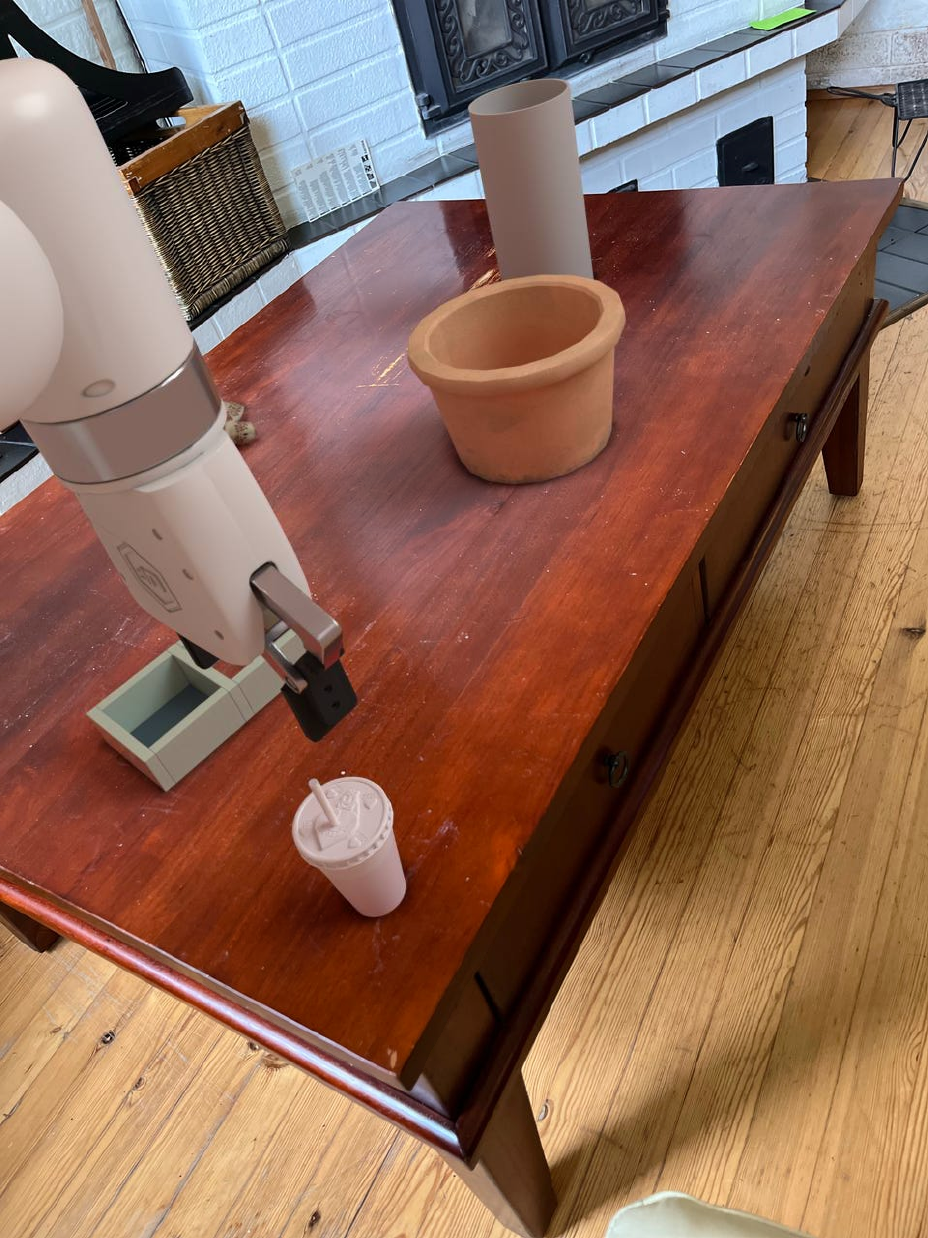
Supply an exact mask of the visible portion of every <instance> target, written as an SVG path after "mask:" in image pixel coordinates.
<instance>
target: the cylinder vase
mask: <svg viewBox="0 0 928 1238" xmlns="http://www.w3.org/2000/svg"><path fill="white" fill-rule="evenodd" d="M467 111H468V116H469V121H470V126H471V132H472V137H473V141H474V148H475V152H476V158H477V163H478V168H479V173H480V179H481V184H482V189H483V194H484V199H485V204H486V209H487V215H488V220H489V225H490V231H491V236H492V240H493V241H492V242H493V246H494V251H495V258H496V261H497V268H498V272H499V273H498V274H499V277H500V278H499V279H500V281H504V280H508V279H515V278H522V277H528V276H535V275H575V276H580V277H584V278H588V279H593V280H594V271H593V265H592V264H593V263H592V255H591V247H590V240H589V230H588V223H587V222H588V221H587V215H586V214H587V213H586V206H585V198H584V197H585V196H584V190H583V189H584V188H583V181H582V175H581V174H582V173H581V165H580V156H579V149H578V142H577V141H578V139H577V132H576V124H575V123H576V122H575V117H574V108H573V99H572V92H571V84H570V82H569V81H567V80H565V79H562V78H540V79H539V78H538V79H532V80H526V81H521V82H517V83H513V84H509V85H506V86H502V87H500V88H497V89H493V90H490V91H489V92H487V93H485V94H482V95H480V96H479V97H477V98H476V99H474V100H473V101H472V102H471V103H469V105H468V107H467Z"/></svg>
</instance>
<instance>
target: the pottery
mask: <svg viewBox="0 0 928 1238" xmlns="http://www.w3.org/2000/svg"><path fill="white" fill-rule="evenodd" d="M621 300H622V299H621V297H620V294H619V293H618V292H617V291H616V290H614V289H613V288H611V287H609V286H608V285H607V284H605V283H603V282H602V281H601V280H597V279H594V278H593V279H588V278H584V277H580V276H575V275H535V276H528V277H522V278H515V279H508V280H504V281H501V280H500V281H498V282H493V283H490V284H487V285H484V286H481V287H478V288H474V289H471V290H469V291H466V292H465V293H463V294H461V295H459V296H457V297H454V298H453V299H449V300H448V301H446V302H444V303H442V304H440V306H438V307H437V308H436V309H434V310H433V311H432V312H430V313H429V314H428V315H426V316H425V317H424V318H422V319H420V321H419V322H418V324H417V326H416V327H415V328H414V330H413V331H412V333H410V335H409V337H408V339H407V357H406V359H407V362H408V365H409V369H410V370H411V371H412V372H413V374H414V375H415V376H416V378H418V380H419V381H420V382H421V383H422V384H423V385H424V386H426V387H428V388H429V390H430V392H431V395H432V397H433V400H434V402H435V404H436V406H437V409H438V411H439V413H440V415H441V418H442V420H443V423H444V425H445V427H446V430H447V432H448V434H449V436H450V438H451V441H452V444H453V445H454V448H455V450H456V453H457V455H458V457H459V459H460V462H461V463H462V464H463V465H464V466H465V468H466V469H467V470H468V471H469V473H470V474H473V475H475V476H478V477H479V478H481V479H484V480H485V481H488V482H492V483H501V484H508V485H521V484H531V483H542V482H546V481H548V480H552V479H554V478H558V477H562V476H565V475H569V474H571V473H572V472H574V471H575V470H578V469H579V468H581V467H583V466H584V465H586V464H588V463H590V462H592V460H594V459H595V458H596V457H597V456H598V454H599V453H600V452H602V450H604V448H605V447H607V444H608V441H609V440H610V439H609V438H610V435H611V434H612V430H613V429H612V426H613V402H614V401H613V398H614V375H615V374H614V373H615V370H614V369H615V346H617V344H618V343H619V341H620V337H621V336H622V333H623V331H624V328H625V325H626V323H627V320H626V319H627V318H626V311H625V308H624V305H623V303H622V302H623V301H621Z"/></svg>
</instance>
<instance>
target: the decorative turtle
mask: <svg viewBox="0 0 928 1238" xmlns="http://www.w3.org/2000/svg"><path fill="white" fill-rule="evenodd" d="M223 402H224V405H225V407H226V410H227V418H226V423H225V425H224V427H223V429H224V430H225V431H226V432H227V433H228V435H229V437H230V438H231V440H232V441H233V443H234V445H244V444H248V443H250V442H252V441H254V440H255V439H256V438H257V436H258V430H257V428H256V427H255V426H254V425H253V423H252V422H250V421H240V420H241V418H242V416H243V414H244V410H245V408H244V406H243V405H242V404H240V403H238V402H235V401H223Z"/></svg>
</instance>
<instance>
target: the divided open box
mask: <svg viewBox="0 0 928 1238" xmlns="http://www.w3.org/2000/svg"><path fill="white" fill-rule="evenodd" d="M263 616H264V630H266V631H267V630H268V629H269V628H271V627H272V626H273V625H274V624H275V623H276V622H278V621H279V620H280V619H279V618H278V617H277V616H276V615H274V614H273V613H272V612H271V611H270V610H269V609H268V610H267V611H266V612H265V613H264V614H263ZM274 644H275V645H276V646H277V647H278V648H279V649H280V650H281V651H282V653H283V654H284V655H285V656H286V657H287V658H288V659H289V660H290V662H291V663H292V664H293V665H294V663H295V662H296V661H297V660H298V659H299V658H300V657H301V656H302V655H303V654H304V653H305V652H306V649H304V648H303V642H302V640H301V639H300V637H299V636H298V635H297V634H296V633H295V632H294V631H293V630H291V629H289V630H287V631H286V632H285V633H284V634H283V635H282V636H280V637H279V638H278V639H277V640H276V641H275V642H274ZM219 661H222V660H221V659H220V660H219ZM219 661H217V662H216V663H215V664H214V665H213V666H215V665H216V664H217V663H218V662H219ZM213 666H211V667H210V668H208V669H206V670H203V669H201V668H200V667H198V666H197V665H196V664H195V663H194V661H193V659H192V658H191V656H190V655H189V653H188V651H187V650H186V648H185V646H184V645H183V643H182V642H181V640H180V639H178V640H177V641H176V642H175V643H173V644H172V645H171V646H170V647H168V648H167V649H166V650H164V651H162V653H160V655H158V656H157V657H156V658H154V659H153V660H152V661H150V662H149V663H148V664H146V665H145V666H144V667H142V668H141V669H140V670H139V671H137V673H135V674H134V675H132V676H131V677H130V678H128V680H126V681H125V682H124V683H122V684H121V685H120V686H119V687H117V688H116V689H115V690H114V691H112V692H110V694H108V695H107V696H106V697H105V698H103V699H102V700H101V701H99V702H98V703H97V704H95V706H93V707H92V708H91V709H90V710H88V711H87V712H85V715H86V717H87V719H89V721H90V722H91V724H93V726H94V727H95V728H96V731H98V732H99V734H100V735H101V736H102V738H103V739H104V741H105V742H106V743H107V744H108V745H109V746H110V747H111V748H113V749H114V750H115V751H116V752H117V753H118V754H120V755H121V756H122V757H123V758H124V759H126V760H127V761H128V762H129V763H131V764H132V765H133V766H134V767H135V768H136V769H138V770H139V771H140V772H141V773H142V774H144V775H145V776H146V777H147V778H148V779H150V780H151V781H152V782H153V783H154V784H156V785H157V786H158V787H159V788H160V789H162V790H163V791H164V792H165V793H167V792H169V790H170V789H172V788H174V786H175V785H176V784H177V783H178V782H180V781H181V780H182V779H183V778H185V776H186V775H188V774H189V773H190V772H191V771H192V770H193V769H194V768H196V767H197V766H198V765H199V764H200V763H201V762H203V760H205V759H206V758H208V756H209V755H210V754H211V753H213V752H214V751H215V750H216V749H218V747H220V746H221V745H222V744H223V743H224V742H225V741H226V740H228V739H229V738H230V736H232V735H233V734H235V733H236V732H237V731H238V730H239V729H240V728H241V727H243V726H244V725H245V724H246V723H247V722H248V721H250V719H252V718H253V717H254V716H255V715H256V714H257V713H258V712H260V711H261V710H262V709H263V708H264V707H266V706H267V704H268V703H270V702H271V701H273V700H274V698H276V697H277V696H278V695H279V694H280V693H282V692H281V690H280V689H281V688H282V687H283V685H284V684H285V682H284V681H283V680H282V679H281V677H280V676H279V675H278V674H277V673H276V672H275V671H274V670H273V668H272V667H271V666H270V665H269V664H268V663H267V662H266V661H265V659H264V658H263V657H262V656H261V655H259V656H258V657H257V658H255V659H254V660H253V662H252V663H251V664H249V665H245V666H244V667H243V668H242V669H241V670H240V671H238V672H237V673H236V674H234V676H232V677H231V678H229V677H228V676H226V675H224V674H223V673H221V672H220V671H218V670H217V669H215V668H214V667H213Z"/></svg>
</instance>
